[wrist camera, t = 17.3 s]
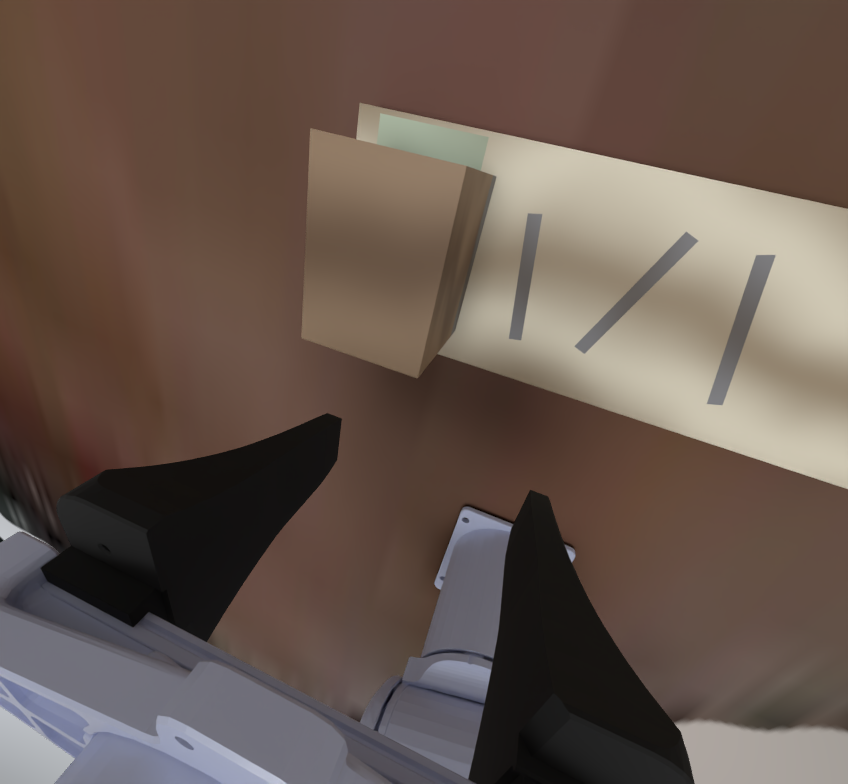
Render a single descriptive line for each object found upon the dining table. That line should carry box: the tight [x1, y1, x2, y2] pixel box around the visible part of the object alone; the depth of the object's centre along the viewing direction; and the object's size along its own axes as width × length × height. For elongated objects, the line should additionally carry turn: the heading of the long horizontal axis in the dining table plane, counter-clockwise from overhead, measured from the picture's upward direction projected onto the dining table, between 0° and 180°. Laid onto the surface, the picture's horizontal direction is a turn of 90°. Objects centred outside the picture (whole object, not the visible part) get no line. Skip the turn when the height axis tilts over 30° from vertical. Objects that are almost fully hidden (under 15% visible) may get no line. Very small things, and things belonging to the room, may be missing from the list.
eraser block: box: [301, 128, 496, 379], centre depth 15 cm, size 7×5×6 cm
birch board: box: [356, 103, 848, 489], centre depth 17 cm, size 10×28×2 cm, turn 78°
